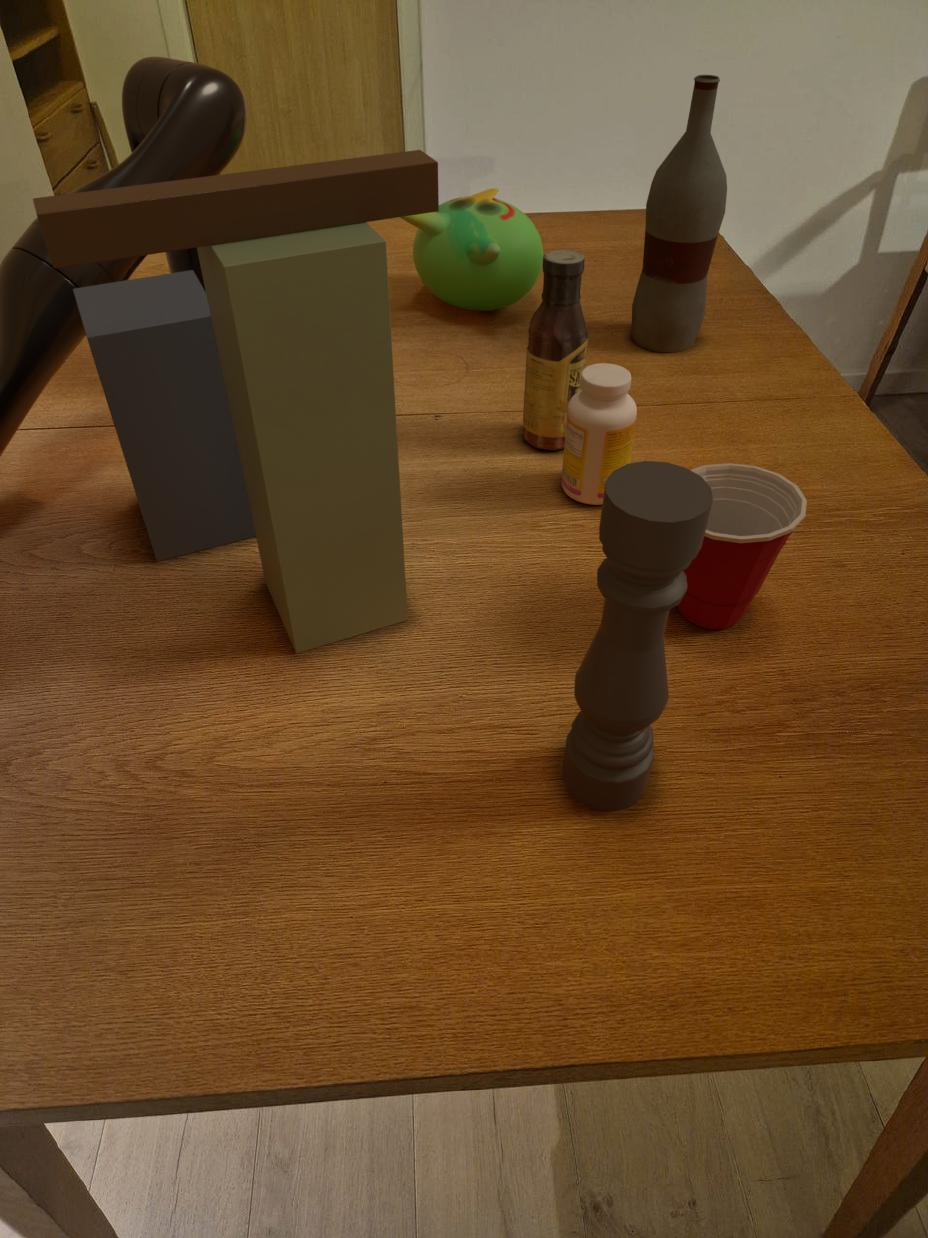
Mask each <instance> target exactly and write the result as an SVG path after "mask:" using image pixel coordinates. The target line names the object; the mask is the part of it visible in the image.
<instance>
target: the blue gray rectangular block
mask: <svg viewBox="0 0 928 1238" xmlns="http://www.w3.org/2000/svg"><path fill="white" fill-rule="evenodd" d="M73 292H74V295H75V299H76V302H77V306H78V309H79V312H80V316H81V319H82V323H83V326H84V329H85V333H86V336H85V337H86V340H87V342H88V346H89V350H90V352H91V357H92V358H93V361H94V366H95V368H96V371H97V374H98V377H99V381H100V384H101V387H102V391H103V394H104V397H105V400H106V404H107V407H108V410H109V413H110V416H111V420H112V422H113V423H112V424H113V425H114V426H113V427H114V430H115V432H116V435H117V439H118V442H119V446H120V448H121V451H122V453H123V454H122V455H123V459H124V462H125V464H126V468H127V470H128V474H129V477H130V481H131V483H132V487H133V490H134V493H135V496H136V499H137V503H138V505H139V509H140V512H141V515H142V519H143V522H144V526H145V528H146V532H147V534H148V537H149V542H150V544H151V547H152V550H153V553H154V557H155V560H156V562H160V561H164V560H169V559H172V558H177V557H180V556H185V555H188V554H191V553H192V554H193V553H196V552H199V551H200V552H201V551H204V550H208V549H213V548H216V547H219V546H220V547H221V546H223V545H227V544H232V543H235V542H239V541H242V540H243V541H244V540H247V539H251V538H256V534H255V529H254V524H253V519H252V514H251V509H250V504H249V500H248V495H247V490H246V485H245V480H244V475H243V470H242V466H241V461H240V456H239V451H238V446H237V441H236V436H235V431H234V427H233V422H232V417H231V412H230V407H229V402H228V397H227V393H226V388H225V383H224V378H223V373H222V368H221V363H220V358H219V354H218V349H217V344H216V339H215V334H214V329H213V324H212V320H211V315H210V310H209V305H208V300H207V295H206V292H205V291H204V289H203V287H202V285H201V284H200V282H199V280H198V278H197V276H196V275H195V273H194V271H193V270H189V271H183V272H176V273H170V272H169V273H164V274H158V275H152V276H146V277H145V276H144V277H140V278H133V279H129V280H126V281H119V282H113V283H107V284H100V285H94V286H87V287H81V288H75V289H73Z"/></svg>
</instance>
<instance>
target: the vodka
mask: <svg viewBox="0 0 928 1238" xmlns="http://www.w3.org/2000/svg"><path fill="white" fill-rule="evenodd" d="M693 81H694V85H693V90H692V94H691V101H690V106H689V112H688V118H687V123H686V129H685V132H684V133H683V134H682V136H681V137H680V139H679V140H678V141H677V142H676V144H675V145H674V146H673V148H671V150H670V152H669V153H668V154H667V155H666V157H665V158H664V159H663V161H662V163H661V164H659V166H658V167H657V168H656V171H655V172H654V176H653V178H652V180H651V184H650V188H649V192H648V195H647V199H646V203H645V229H644V243H643V254H642V255H643V256H642V268H641V272H640V275H639V278H638V282H637V286H636V289H635V293H634V295H633V296H634V297H633V300H632V305H631V332H632V333H631V334H632V339H633V341H634V342H635V344H636V345H638V346H639V347H641V348H643V349H646V350H648V351H653V352H657V353H669V354H670V353H679V352H683V351H686V350H688V349H690V348H691V347H693V345H694V343H695V341H696V339H697V337H698V335H699V334H700V332H701V328H702V325H703V321H704V319H705V315H706V304H707V294H708V293H707V292H708V291H707V290H708V274H709V270H710V266H711V263H712V259H713V255H714V251H715V248H716V244H717V240H718V237H719V234H720V229H721V227H722V223H723V221H724V217H725V215H726V207H727V197H728V182H727V179H728V178H727V174H726V171H725V168H724V165H723V163H722V160H721V157H720V155H719V154H720V153H719V151H718V149H717V146H716V144H715V141H714V139H713V136H712V133H711V132H712V124H713V119H714V112H715V107H716V100H717V93H718V87H719V83H720V82H721V79H720V77H719V76H717V75H713V74H697V75H696V76H695V77H694V78H693Z"/></svg>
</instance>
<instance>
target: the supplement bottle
mask: <svg viewBox="0 0 928 1238" xmlns="http://www.w3.org/2000/svg"><path fill="white" fill-rule="evenodd" d="M631 384H632V375H631V372H630V371H629V370H628V369H627V368H625V367H623V366H622V365H618V364H614V363H607V362H601V363H599V362H598V363H594V364H590V365H588V366H587V365H586V366H585V368H584V369H583V371H582V373H581V380H580V387H581V390H580V391H579V392H577V393H576V394H575V395H574V396H573V397H572V398H571V400H570V402H569V404H568V411H567V422H566V433H565V444H564V448H563V457H562V467H561V468H562V470H561V487H562V489H563V491H564V493H565V495H567V496H568V497H569V498H571V499H572V500H574V501H576V502H579V503H582V504H587V505H593V506H594V505H595V506H602V504H603V497H604V490H605V482H606V480H607V479H608V477H609V476H610V475H611V473H612V472H613V471H614V470H616V469H618V468H620V467H622V466H624V465H626V464H630V463H631V457H632V450H633V444H634V443H633V442H634V436H635V428H636V421H637V413H638V407H637V404H636V401H635V400H634V398H633V397H632V396H631V395H629V394H628V393H629V391H630V390H631Z"/></svg>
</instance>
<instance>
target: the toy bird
mask: <svg viewBox="0 0 928 1238" xmlns="http://www.w3.org/2000/svg"><path fill="white" fill-rule="evenodd" d="M498 192H499V188H497V187H495V188H494V187H493V188H489V189H488V188H487V189H485V190H483V191H480V192H477V193H475V194H472V195H468V196H467V195H466V196H461V197H460V196H459V197H456V198H452V199H449V200H447V201H445V202H442V203H440V204H439V211H437V212H431V213H424V214H417V215H411V216H404V217H399V218H400V219H402V220H404V221H405V222H407V223H409V224H410V225H412V226H414V227H416V228H417V230H416V232H415V236H414V239H413V246H412V256H413V263H414V267H415V270H416V272H417V274H418V277H419V278H420V280H421V281H422V283H423V284H424V286H425V287H426V288H427V289H428V290H429V291H430V292H431V293H432V294H433V295H434V296H436V297H437V298H438V299H440V300H442V301H443V302H445V303H447V304H449V305H451V306H453V307H456V308H459V309H462V310H467V311H475V312H486V311H487V312H488V311H495V310H501V309H505V308H506V307H509V306H511V305H513V304H515V303H517V302H518V301H520V300H522V299H523V298H524V297H525V296H526V295H527V294H528V293H529V292H530V291H531V290H532V289H533V287H534V286H535V284H536V283H537V280H538V278H539V276H540V274H541V271H542V269H543V257H544V247H543V246H544V245H543V242H542V238H541V235H540V233H539V231H538V229H537V227H536V226H535V224H534V222H533V221H532V220H531V219H530V218H529V217H528V215H527V214H526V213H524V212H523V211H522V210H520V209H519V208H518V207H517V206H515V205H513V204H511V203H510V202H507V201H505V200H502V199H499V198H496V197H495V196H496V195H497V194H498Z"/></svg>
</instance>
